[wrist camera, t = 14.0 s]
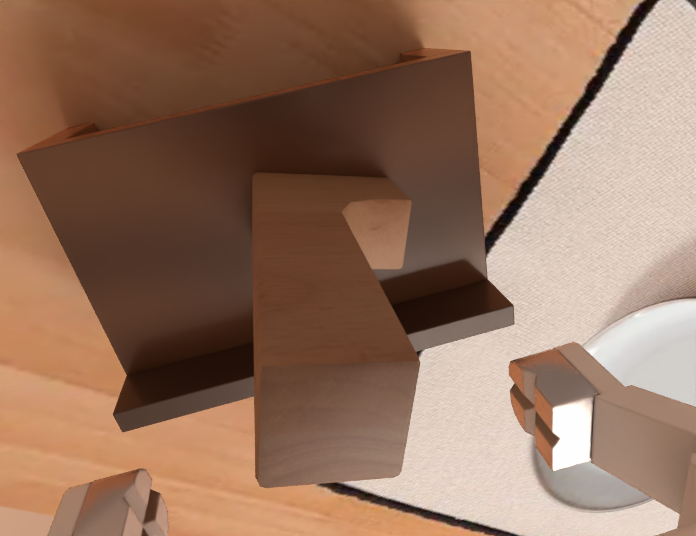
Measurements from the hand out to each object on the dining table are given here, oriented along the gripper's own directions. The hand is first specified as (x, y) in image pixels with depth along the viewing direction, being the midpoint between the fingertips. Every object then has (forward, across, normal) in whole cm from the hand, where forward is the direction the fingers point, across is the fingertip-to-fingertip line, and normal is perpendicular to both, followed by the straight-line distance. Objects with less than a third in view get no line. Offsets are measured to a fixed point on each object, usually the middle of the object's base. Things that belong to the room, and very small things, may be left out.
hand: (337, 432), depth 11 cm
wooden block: (+15, -2, 0) cm, 15 cm away
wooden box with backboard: (+21, 0, +1) cm, 21 cm away
